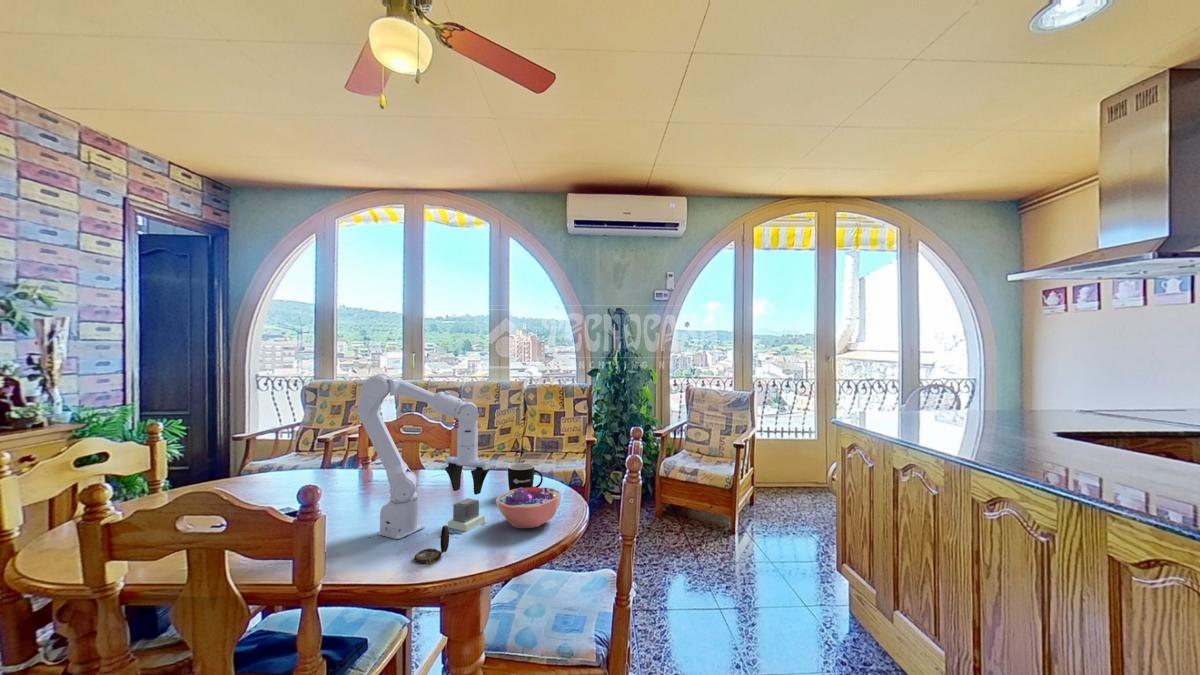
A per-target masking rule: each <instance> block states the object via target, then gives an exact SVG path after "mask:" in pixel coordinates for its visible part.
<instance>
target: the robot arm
mask: <svg viewBox="0 0 1200 675" xmlns="http://www.w3.org/2000/svg"><path fill="white" fill-rule="evenodd" d="M388 395H389V397H392V396H398V395H399V396H401V395H404V396H406V397H408V398H412V399H414V400H417V401H420V402H423V403H426V404H429V406H431V410H432V411H434V412H437V413H439V414H441V415H445V416H446V417H449V418H452V419H457V420H458V427H457V429H456V430H457V431H456V432H457V434H456V435H457V437H456V438H457V440H456V456H448V457H447V456H446V457H445V464H444V465H447V466H445V468H444V469H445V472H446V473H447V475H448V478H449V480H450V484H451V487H452V492H456V491H458V490H461V482H462V481H461V479H462V473H463V472H462V471H463V469H464V468H463V467H465V468H466V467H467V468H474V469H473V470H471V471H470V474H471V476H472V481H473V494H474V495H479V494H481V492H482V488H483V484H484V481H485V479H486V477H487V475H488V473H489V472H490V469H491V464H490V461H487V460H484V459H481V458H479V457H478V453H479V452H478V450H479V448H478V445H479V444H478V443H479V441H478V440H479V428H478V425H479V424H478V419H479V416H480V413H479V410H478V407H477V405H476V404H475V403H473V402H472V401H470V400H469V401H468V400H466V398H464V397H462V398H459V397H456V396H454V395H452V394H451V392H449V391H447V390H445V392H444V391H438V392H436V393H434V392H433V391H430V390H427V389H425V388H423V387H420V386H419V385H415V384H414V383H411V382H409V381H406V380H404V379H401V378H398V377H394V376H389V375H387V374H384V373H381V374H380V373H378V374H376V375H374V376H370V377H368V378H367V379H366V380H365V381H364V383H363V384H362V387H361V388H360V389H359V400H358V405H357V410H356V411H357V416H358V417H359V420H360V423H361V424H362V426H363V427H364V430H365V432H366V433H367V436H368V439H369V440H370V442H371V444H372V446H373V447H374V449H375V452H376V454H377V456H378V458H379V459H380V461H381V464H382V465H383V468H384V470H385V471H386V472H385V473H386V477H387V481H388V484H389V493H390V497H389V501H388V502H387V503H386V504H384V505H383V506H382V507H381V509H380V513H379V532H377V535H378V536H383V537H387V538H390V539H391V538H392V539H395V540H401V539H403V538H405V537H408V536H409V535H411V534H413V533H417V532H418V531H420V530H422V529H424V528H425V525H422V524H419V520H418V519H419V518H418V516H419V515H418V514H419V512H418V511H419V494H418V493H417V492H416V487H417V485H418V482H419V478H418V475H417V474H416V473H415V472H413V471H412V470H411V469H410V468H409V466H408V464H407V463H406V462H405V461H404V459H403V458H402V455H401V454H400V452H399V450H398V448H397V445H396V444H395V442H394V439H393V438H392V436H391V433H390V431H389V429H388V428H387V425H386V423H385V421H384V419H383V417H382V416H381V414H380V409H381V406H382V404H383V403H384V399H386V398H387V397H388Z"/></svg>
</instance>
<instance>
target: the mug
mask: <svg viewBox="0 0 1200 675" xmlns="http://www.w3.org/2000/svg"><path fill="white" fill-rule="evenodd" d="M535 474H539V476H540V481H539V483H538V484H537V485H536V486H534V479H535V478H534V476H535ZM543 481H544V477H543V474H542V473H541V471H539V470H537V469H535V465H534V464H532V463H525V462H518V463H513V464H510V465H508V467H507V482H508V488H509V490H508V492H509V491H510V490H513V489H518V488H520V487H522V488H540V487H541V485H542V484H543Z"/></svg>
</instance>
